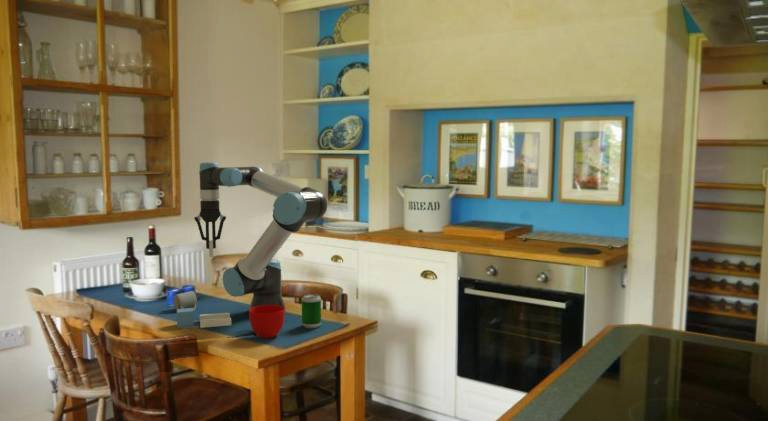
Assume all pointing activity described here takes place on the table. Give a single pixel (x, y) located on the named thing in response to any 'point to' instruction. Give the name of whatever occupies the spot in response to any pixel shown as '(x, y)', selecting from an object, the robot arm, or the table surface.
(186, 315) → the block
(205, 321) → the chute
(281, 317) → the ceramic cup
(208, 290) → the table surface
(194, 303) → the ceramic mug
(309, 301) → the soda can
